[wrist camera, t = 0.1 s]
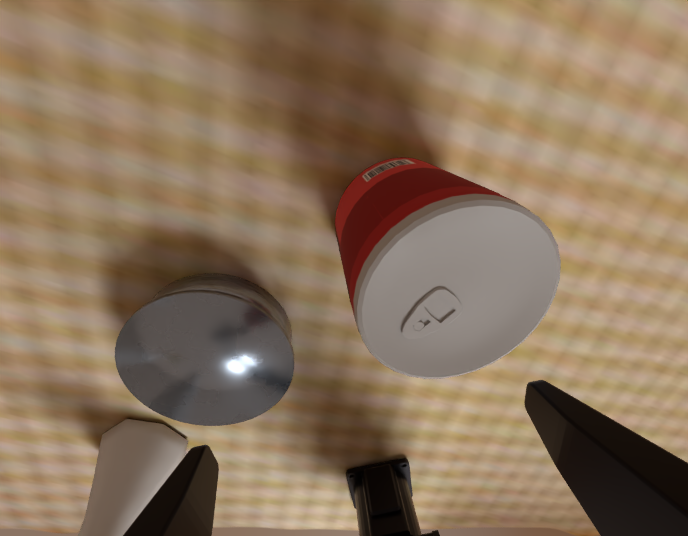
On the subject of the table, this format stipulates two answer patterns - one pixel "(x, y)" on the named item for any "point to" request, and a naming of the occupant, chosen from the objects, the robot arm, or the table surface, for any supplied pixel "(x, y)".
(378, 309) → the canned food
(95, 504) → the flask
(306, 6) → the table surface
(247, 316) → the biscuit tin
